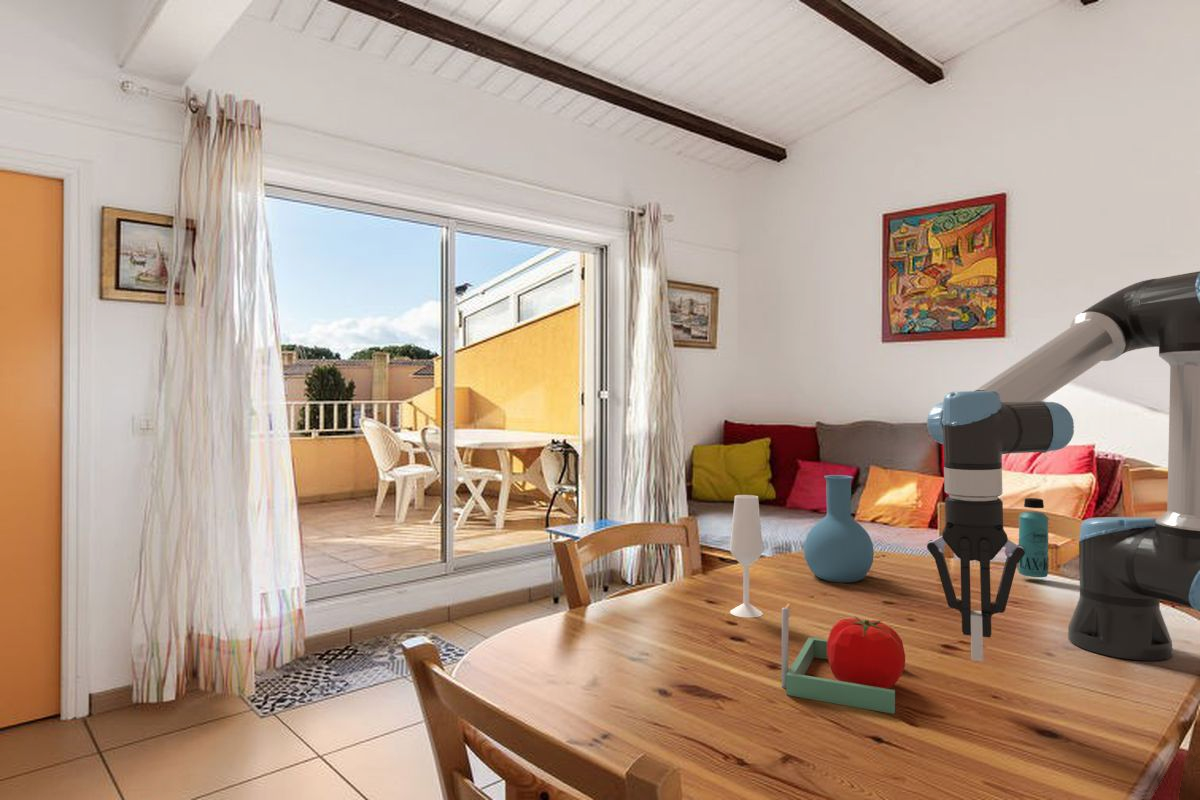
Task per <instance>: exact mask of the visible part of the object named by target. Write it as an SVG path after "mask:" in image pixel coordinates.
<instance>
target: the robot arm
mask: <svg viewBox="0 0 1200 800" xmlns="http://www.w3.org/2000/svg"><path fill="white" fill-rule="evenodd" d="M1155 347H1156V348H1158V356H1159V357H1160V358H1161V359H1162V360H1164V362H1166V363H1167V364H1168V365H1169V369H1170V370H1169V371H1170V372H1169V374H1170V375H1169V407H1168V411H1169V412H1168V413H1169V416H1168V417H1169V418H1168V422H1169V423H1168V453H1167V454H1168V456H1167V458H1168V459H1167V460H1168V461H1167V463H1168V464H1167V500H1166V501H1167V503H1166V506H1167V507H1166V509H1167V510H1166V512H1165V513H1164V514H1162V515H1161V516H1159V517H1158V518H1156V517H1149V516H1148V517H1147V516H1146V517H1144V516H1140V517H1138V516H1105V517H1103V516H1101V517H1091V518H1090V517H1089V518H1087V519H1084V520H1083V522H1081V525H1080V530H1079V531H1080V533H1079V539H1078V549H1079V550H1078V551H1079V553H1078V559H1079V560H1078V561H1079V566H1078V567H1079V569H1078V570H1079V598H1078V601H1077V604H1076V606H1075V609H1074V611H1073V614H1072V617H1071V619H1070V620H1069V624H1068V630H1067V631H1068V632H1067V633H1068V634H1067V635H1068V636H1067V637H1068V638H1067V639H1068V640H1069V641H1070V643H1072V644H1074V645H1075V646H1077V647H1079V648H1082V649H1084V650H1087V651H1090V652H1093V653H1096V654H1099V655H1104V656H1109V657H1113V658H1118V659H1119V658H1120V659H1125V660H1133V661H1134V660H1135V661H1148V662H1149V661H1150V662H1151V661H1154V662H1155V661H1164V660H1167V659H1170V658H1172V656H1173V642H1172V641H1173V640H1172V638H1171V636H1170V633H1169V630H1168V627H1167V625H1166V622H1165V620H1164V616H1163V614H1162V612H1161V609H1160V605H1161V604H1160V602H1161V601H1165V602H1169V603H1172V604H1176V605H1179V606H1183V607H1186V608H1191V609H1194V610H1195V611H1198V612H1200V270H1199V271H1194V272H1193V271H1192V272H1189V273H1183V274H1176V275H1171V276H1166V277H1159V278H1151V279H1146V280H1142V281H1138V282H1135V283H1133V284H1131V285H1128V286H1126V287H1124V288H1123V287H1122V289H1119V290H1117V291H1116V292H1114V293H1112V294H1110V295H1108V296H1107V297H1104V298H1103V299H1101V300H1100V301H1098V302H1096V303H1094V304H1093V305H1092V306H1090V307H1087V309H1085V310H1084V311H1082V312H1081V313H1079V314H1077V315H1076V316H1075V317H1074V318H1073V319H1072V322H1071V324H1070V327H1069V328H1068V329H1065V330H1064V331H1063V332H1061V333H1060V334H1058V335H1056V336H1055V337H1053V338H1052V339H1050V340H1049V341H1048V342H1046V343H1045V344H1043V345H1041V346H1040V347H1038V348H1037V349H1036V350H1033V351H1032V352H1031V353H1029V354H1028V355H1027V356H1024V357H1023V358H1022V359H1020V360H1019V361H1017V362H1016V363H1014V364H1012V365H1011V366H1010V367H1008V368H1007V369H1005V370H1004V371H1002V372H1000V373H999V374H998V375H996V376H994V377H993V378H992V379H990V380H989V381H987V382H985V383H983V384H982V385H981V386H979V387H978V388H977V389H975V390H969V391H964V390H963V391H950V392H948V393H947V394H945V395H944V397H943V401H942V402H939V403H937V404H935V405H934V406H933V407H932V408H931V409H930V411H929V412H928V415H927V418H926V424H927V425H926V426H927V430H928V433H929V434H930V437H931V438H932V439H933V440H934V441H935V442H937V443H939V444H941V445H943V464H944V465H943V466H944V467H943V477H944V478H943V479H944V484H943V485H944V493H946V495H948V496H946V498H945V499H944V509H945V510H944V515H945V516H944V517H945V518H944V521H945V526H944V528H943V530H942V531H941V536H939V537H937V538H935V539H930V540H928V541H927V543H926V548H927V550H928V552H929V553H930V555H931V556H932V557H933V558H934V560H935V565H936V567H937V571H938V575H939V579H940V582H941V584H942V588H943V592H944V596H945V599H946V603H947V606H948V608H949V609H954V610H957V611H959V612H960V614H961V632H962V634H963V635H964V636H970V653H971V654H970V655H971V661H974V662H975V661H976V662H977V661H978V662H984V640H983V639H984V638H991V637H992V616H993V615H995V614H998V613H999V614H1000V613H1001V614H1002V613H1004V612H1005V611H1006V609H1007V605H1008V601H1009V597H1010V592H1011V589H1012V586H1013V585H1012V584H1013V581H1014V576H1015V574H1016V569H1017V567H1018V562H1019V561H1020V560H1021V559H1022V557H1023V556H1024V555H1025V551H1024V549H1023V547H1022V546H1021V545H1018V544H1016V543H1015V542H1013V541H1011V540H1010V539H1009V538H1008V534H1007V532H1006V531H1005V529H1004V510H1003V508H1004V507H1003V505H1004V503H1003V500H1002V499H1001V498H999V497H1000V496H1002V495H1003V468H1002V467H1003V462H1002V461H1003V455H1006V454H1024V453H1025V454H1026V453H1042V454H1044V453H1045V454H1046V453H1047V452H1052V451H1059V450H1062V449H1064V448H1065V447H1066V446H1067V445H1069V444H1070V442H1071V441H1072V438H1073V436H1074V432H1075V429H1074V428H1075V425H1074V424H1075V423H1074V418H1073V415H1072V414H1071V413H1070V411H1069V410H1068V409H1067V408H1066V407H1065V406H1064V405H1063V404H1062V403H1059V402H1053V401H1044V400H1046V399H1047V398H1048V397H1050V396H1051V395H1053V394H1054V393H1056V392H1057V391H1059V390H1061V389H1062V388H1063V387H1064V386H1067V385H1068V384H1069V383H1071V382H1072V381H1074V380H1075V379H1076V378H1078V377H1079V376H1081V375H1082V374H1084V373H1085V372H1087V371H1089V370H1090V369H1092V368H1093V367H1094V366H1095V365H1097V364H1099V363H1100V362H1109V361H1113V360H1115V359H1117V358H1119V357H1120V356H1122V355H1123V354H1125V353H1127V352H1131V351H1134V350H1135V351H1136V350H1140V349H1147V348H1148V349H1149V348H1155ZM945 544H946V545H947V547H949V549H951V551H952V552H953V554H954V555H955V556H956V557H957V558H958V559H959V560H960V598H961V599H958V598H957V595H956V593H955V590H954V589H955V587H954V585H953V582H952V579H951V574H950V571H949V568H948V565H947V561H946V556H945V555H944V553H945V552H946V546H945ZM1004 547H1005V549H1004V553H1005V556H1006V558H1005V563H1004V565H1003V570H1002V574H1001V578H1000V582H999V586H998V589H997V594H996V596H995V601H993V602H992V601H991V600H992V599H991V596H992V595H991V594H992V593H991V592H992V591H991V561H992V560H993V559H995V557H996V556H997V555H998V554H999V552H1000V551H1001V550H1002V549H1003V548H1004ZM972 561H977V562H979V572H980V573H979V577H980V578H979V584H980V608H981V609H980V610H972V609H971V608H972V607H971V605H972V604H971V600H972V599H971V598H972V597H971V564H970V563H971V562H972ZM1160 600H1161V601H1160Z"/></svg>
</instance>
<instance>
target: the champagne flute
mask: <svg viewBox="0 0 1200 800" xmlns="http://www.w3.org/2000/svg"><path fill="white" fill-rule="evenodd" d="M733 500H734V501H733V502H734V503H733V512H732V523H731V532H730V534H731V535H730V543H729V551H730V553H731V555H732V557H733V558H734V559H735V560H736V561H737V563H739V564H740V565H741V566H743V567H742V570H743V573H742V574H743V582H742V583H743V588H742V589H743V591H742V592H743V595H742V596H743V597H742V598H743V601H742V602H743V603H741V604H740V605H738V606H736V607H733V608H732V609H731V610H729V613H730V614H731V615H733V616H735V617H740V618H750V619H751V618H752V619H753V618H758V617H762V616H763V614H764V613H763V611H761V610H760V609H758V608H757V607H755V606H754V605H752V604H751V603H750V566H752V565H753V564H755V563H756V562H757V560H759V558H760V557H761V556H762V554H763V552H764V548H763V547H764V546H763V536H762V524H761V515H760V503H759V502H760V501H759V496H758V495H753V494H737V495H734V499H733Z"/></svg>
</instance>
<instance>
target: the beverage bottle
mask: <svg viewBox="0 0 1200 800" xmlns="http://www.w3.org/2000/svg"><path fill="white" fill-rule="evenodd" d="M1023 506H1024V508H1029V509H1045V508H1044V507H1045V505H1044V500H1043V499H1041V498H1037V497H1029V498H1028V497H1027V498H1024V504H1023ZM1018 521H1019V523H1018V544H1017V545H1021V546H1022V547H1023V549H1024V551H1025V555H1024V556H1023V557H1022V559H1021V560H1020V561H1019V562H1018V564H1017V571H1018V573H1019V575H1021V576H1025V577H1031V578H1047V577H1048V574H1050V573H1049V569H1050V567H1049V563H1050V562H1049V560H1050V559H1049V517H1048V516H1047V515H1046V514H1045V512H1041V511H1040V512H1039V511H1029V510H1027V511H1023V512H1022V513H1020V514H1019V515H1018Z"/></svg>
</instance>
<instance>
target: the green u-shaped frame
mask: <svg viewBox="0 0 1200 800" xmlns="http://www.w3.org/2000/svg"><path fill="white" fill-rule="evenodd" d="M790 617H791V603H789V602H788V603H787V604H786V605H785V606H784V607H782V608H781V688H784V689H786V690H785V691H786V692H785V694H786V696H791V697H796V698H797V697H798V698H802V699H808V700H813V701H814V700H815V701H820V702H824V703H830V704H832V703H833V704H837V705H842V706H848V707H853V708H858V709H865V710H871V711H875V712H876V711H877V712H882V713H887V714H892V715H895V713H896V690H895V689H891V688H889V689H886V688H880V687H874V686H867V685H861V684H855V683H849V682H843V681H838V680H837V679H836V680H835V679H829V678H823V677H819V676H813V675H812V676H810V675H806V673H807V671H808V669H809V667H810V665H811V664H812V662H813V659H814V658H817V659H822V660H823V659H824V660H828V657H827V641H828V639H825V638H817V637H809V636H808V638H807V640H806V641H805V643H804V645H803V646H802V648H801V650H800V652H799V653H798V655H797V656H796V658H795V660H794V661H793V663H792V664H791V666H790V668H789V633H790V631H789V621H790V620H789V618H790Z"/></svg>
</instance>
